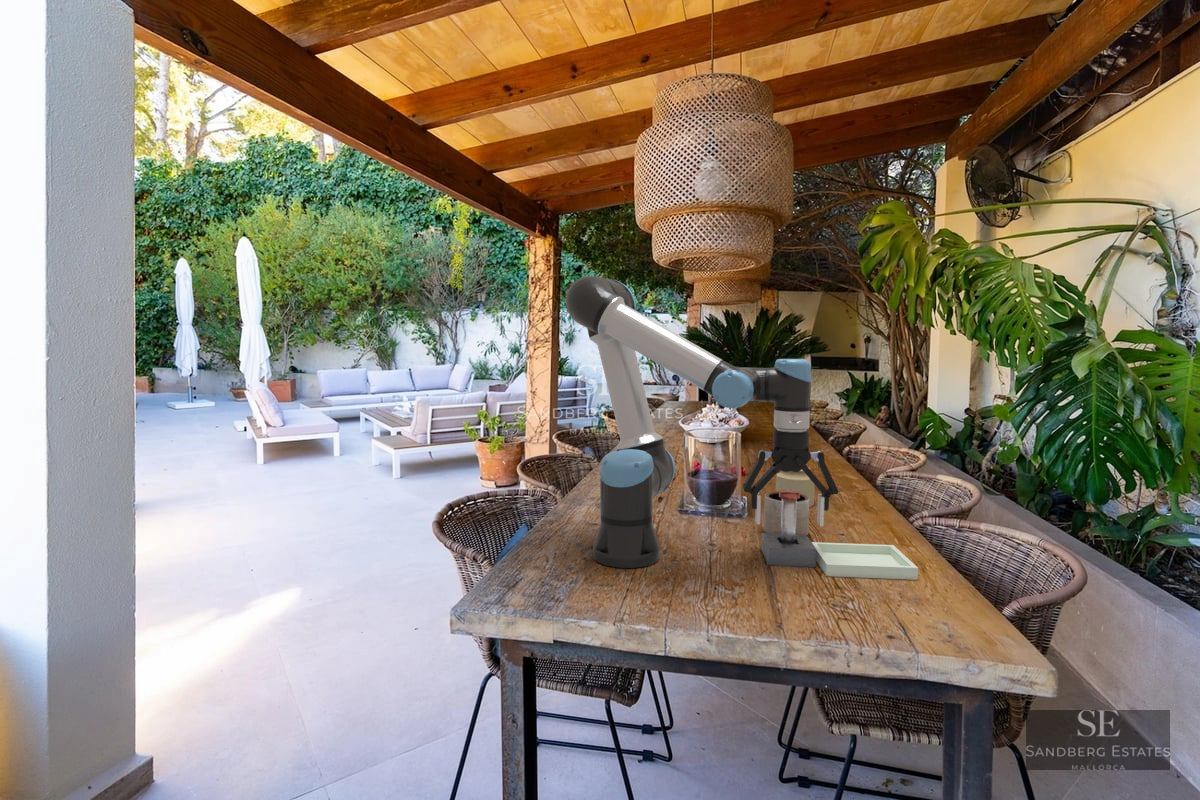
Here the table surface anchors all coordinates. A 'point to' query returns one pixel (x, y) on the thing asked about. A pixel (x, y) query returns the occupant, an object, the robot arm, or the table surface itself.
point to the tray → (864, 561)
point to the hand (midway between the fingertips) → (788, 523)
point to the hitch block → (788, 551)
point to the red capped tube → (788, 515)
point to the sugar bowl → (796, 483)
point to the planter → (774, 514)
